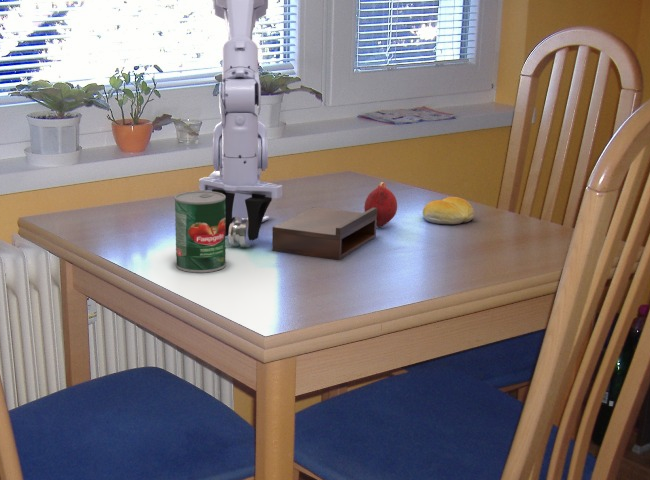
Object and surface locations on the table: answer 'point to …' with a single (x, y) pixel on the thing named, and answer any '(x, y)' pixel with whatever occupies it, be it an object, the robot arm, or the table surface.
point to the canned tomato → (200, 231)
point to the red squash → (382, 204)
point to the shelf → (325, 232)
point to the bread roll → (448, 211)
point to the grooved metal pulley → (239, 232)
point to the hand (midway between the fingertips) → (240, 237)
